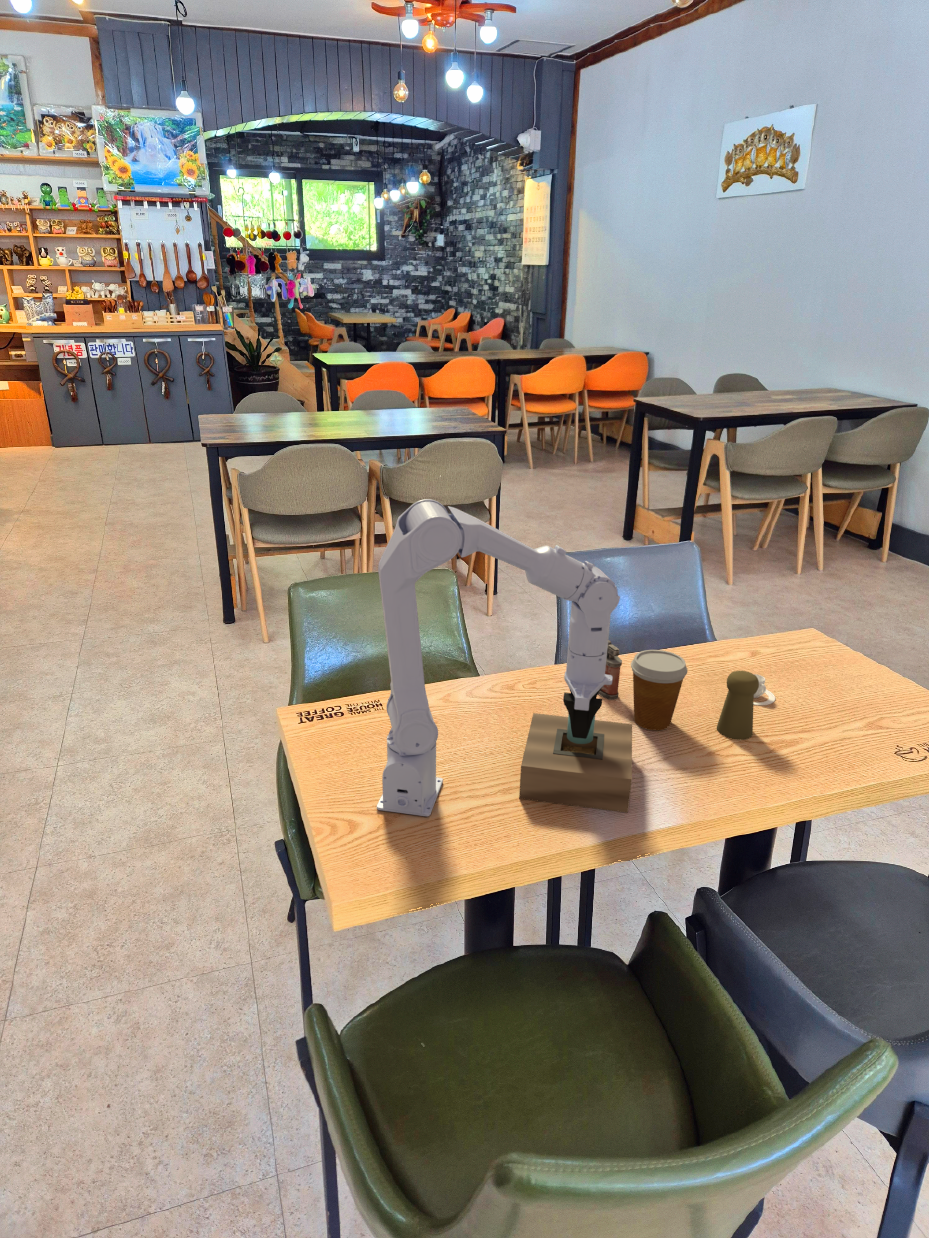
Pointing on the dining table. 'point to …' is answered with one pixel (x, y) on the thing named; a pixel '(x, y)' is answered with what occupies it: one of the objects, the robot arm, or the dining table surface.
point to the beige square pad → (578, 749)
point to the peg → (580, 740)
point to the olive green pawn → (738, 706)
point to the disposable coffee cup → (656, 687)
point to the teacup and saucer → (763, 690)
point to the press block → (577, 765)
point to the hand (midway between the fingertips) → (580, 729)
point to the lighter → (612, 673)
